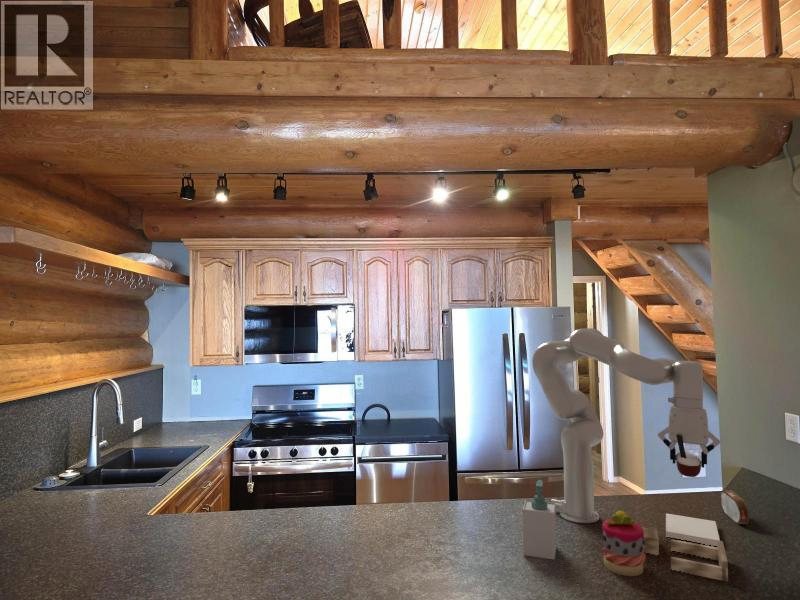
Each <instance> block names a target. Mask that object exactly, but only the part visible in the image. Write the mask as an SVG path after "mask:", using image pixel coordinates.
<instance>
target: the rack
mask: <svg viewBox="0 0 800 600" xmlns="http://www.w3.org/2000/svg"><path fill="white" fill-rule="evenodd" d="M672 551H676V552H675V553H677V552H681V553H680V554H682V553H687V554H691V555H690V556H693V555H696V556H695V557H698V556H700V557H699V558H703V557H704V558H703V559H708V558H710V560H715V561H717V562H718V565H717V564H710V563H704V562H701V561H695V560H691V559H685V558H680V557H675V556H670V570H671V569H672V570H671V571H674V570H676V571H675V572H679V571H681V572H680V573H684V572H685V573H684V574H688V573H689V575H693V574H694V576H699V577H703V578H709V579H714V580H717V581H724V582H729V569H728V568H729V566H728V565H729V563H728V558H727V553H726V548H725V546H724V541H723V540H720V541H718V547H714V546H709V545H703V544H697V543H692V542H686V541H681V540H675V539H670V552H672ZM687 554H686V555H687Z"/></svg>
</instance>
